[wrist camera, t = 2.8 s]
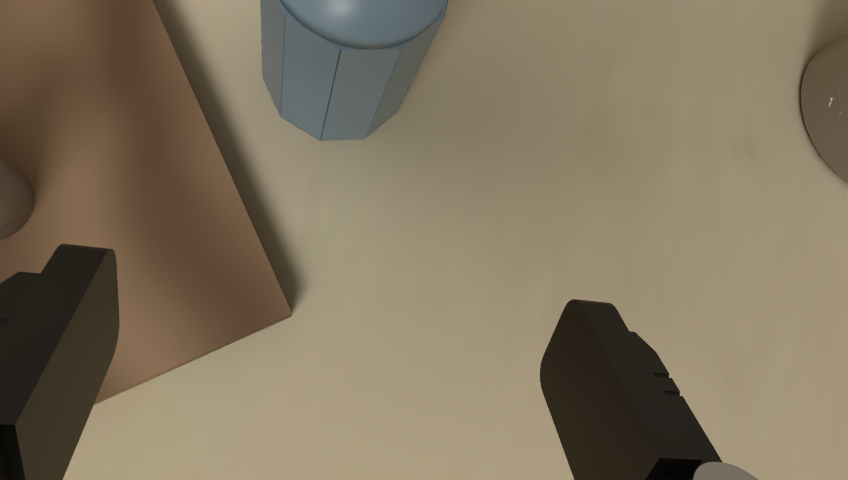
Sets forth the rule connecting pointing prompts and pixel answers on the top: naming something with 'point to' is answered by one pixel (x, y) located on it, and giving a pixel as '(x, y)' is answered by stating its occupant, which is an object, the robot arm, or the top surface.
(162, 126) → the post dock
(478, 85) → the top surface
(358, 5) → the blue-grey rounded cylinder
